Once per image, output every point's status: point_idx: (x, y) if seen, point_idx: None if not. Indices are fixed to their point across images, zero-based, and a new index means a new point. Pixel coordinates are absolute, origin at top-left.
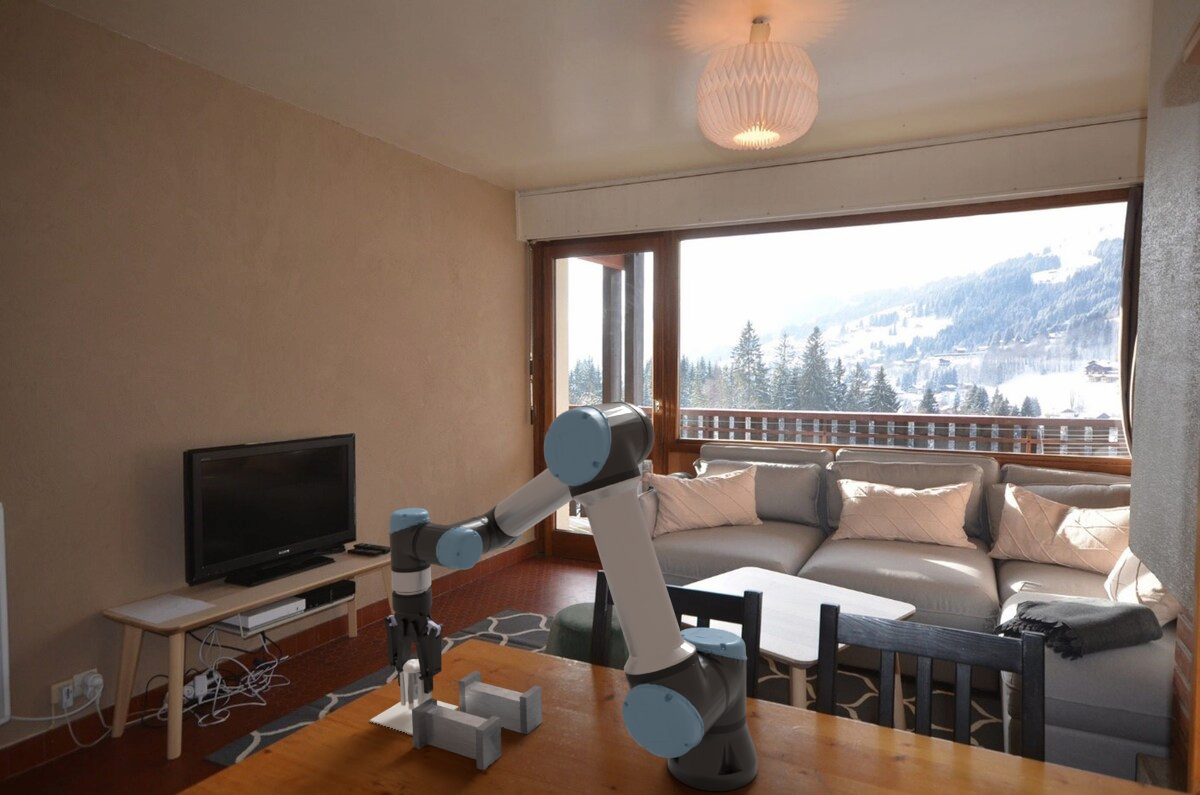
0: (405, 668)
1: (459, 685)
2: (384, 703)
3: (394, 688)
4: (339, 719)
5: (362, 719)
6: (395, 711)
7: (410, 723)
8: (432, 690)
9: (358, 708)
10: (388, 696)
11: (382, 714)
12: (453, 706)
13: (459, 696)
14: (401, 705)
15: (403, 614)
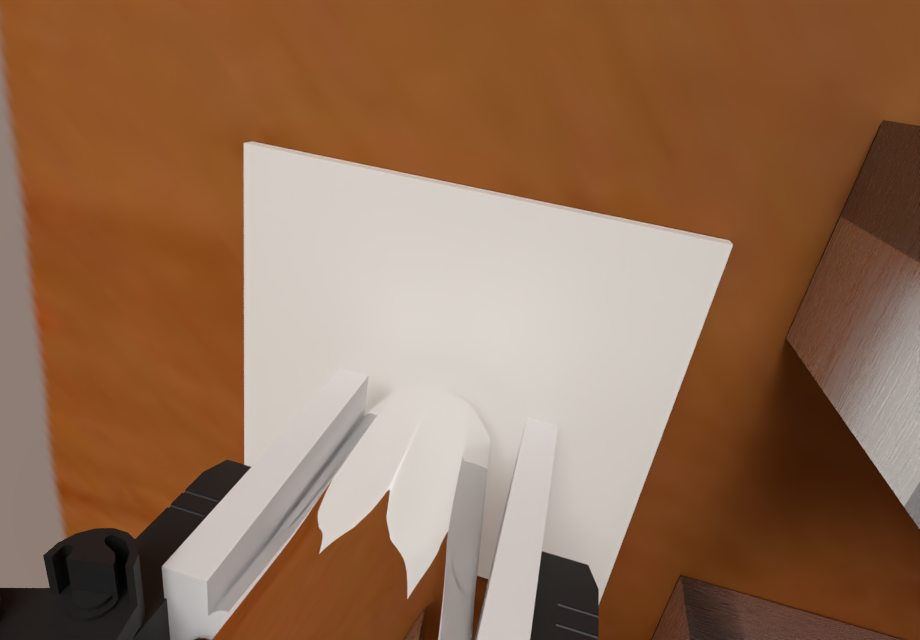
0: None
1: (913, 507)
2: (161, 296)
3: (49, 72)
4: (101, 490)
5: (197, 477)
6: (306, 403)
7: (488, 513)
8: (588, 576)
9: (85, 380)
10: (110, 202)
11: (262, 445)
12: (683, 253)
13: (847, 422)
14: (287, 327)
15: None
